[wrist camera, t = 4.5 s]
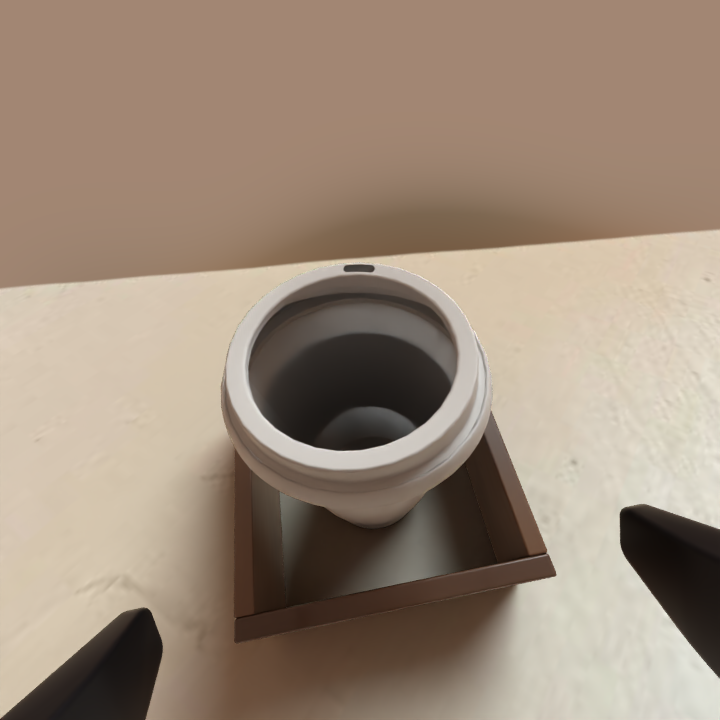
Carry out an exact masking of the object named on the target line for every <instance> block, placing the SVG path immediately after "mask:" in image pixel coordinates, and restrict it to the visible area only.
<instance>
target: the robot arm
mask: <svg viewBox="0 0 720 720" xmlns="http://www.w3.org/2000/svg"><path fill="white" fill-rule="evenodd" d="M620 544H621V548H622V551H623V554H624V555H625V557H626V559H627V560H628V562H629V563H630V564H631V566H632V567H633V568H634V570H635V571H636V572H637V574H638V575H639V576H640V578H641V579H642V581H643V582H644V583H645V585H646V586H647V587H648V589H649V590H650V591H651V593H652V594H653V595H654V597H655V598H656V599H657V601H658V602H659V603H660V605H661V606H662V608H663V609H664V610H665V612H666V613H667V614H668V616H669V617H670V618H671V620H672V621H673V622H674V624H675V625H676V626H677V628H678V629H679V630H680V632H681V633H682V634H683V635H684V637H685V638H686V639H687V641H688V642H689V643H690V644H691V646H692V647H693V648H694V649H695V650H696V652H697V653H698V654H699V655H700V656H701V658H702V659H703V660H704V661H705V662H706V663H707V665H708V666H709V667H710V668H711V669H712V670H713V671H714V673H715V674H716V675H717V676H718V677H719V678H720V529H717V528H714V527H711V526H708V525H705V524H702V523H699V522H696V521H693V520H691V519H688V518H685V517H682V516H679V515H676V514H673V513H670V512H667V511H664V510H661V509H658V508H655V507H652V506H649V505H646V504H639V505H634V506H629V507H625V508H623V509H622V510H621V512H620ZM162 652H163V645H162V640H161V637H160V634H159V632H158V629H157V626H156V624H155V621H154V618H153V616H152V613H151V611H150V610H149V609H148V608H139V609H134V610H129V611H126V612H123V613H121V614H120V615H119V616H118V617H117V618H115V619H114V620H113V621H112V622H111V623H110V624H109V625H107V626H106V627H105V628H104V629H103V630H102V631H101V632H99V633H98V634H97V635H96V636H95V637H94V638H93V639H91V640H90V641H89V642H88V643H87V644H86V645H84V646H83V647H82V648H81V649H80V650H79V651H78V652H76V653H75V654H74V655H73V656H72V657H71V658H70V659H68V660H67V661H66V662H65V663H64V664H63V665H62V666H60V667H59V668H58V669H57V670H56V671H55V672H53V673H52V674H51V675H50V676H49V677H48V678H47V679H45V680H44V681H43V682H42V683H41V684H40V685H39V686H37V687H36V688H35V689H34V690H33V691H32V692H31V693H29V694H28V695H27V696H26V697H25V698H24V699H22V700H21V701H20V702H19V703H18V704H17V705H16V706H14V707H13V708H12V709H11V710H10V711H9V712H8V713H6V714H5V715H4V716H3V717H2V718H1V719H0V720H145V719H146V715H147V711H148V708H149V704H150V700H151V696H152V693H153V689H154V685H155V681H156V677H157V674H158V670H159V666H160V662H161V658H162Z"/></svg>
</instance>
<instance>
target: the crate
mask: <svg viewBox="0 0 720 720" xmlns="http://www.w3.org/2000/svg"><path fill="white" fill-rule="evenodd" d="M465 465H466V468H467V471H468V474H469V477H470V480H471V484H472V487H473V490H474V493H475V496H476V499H477V502H478V505H479V508H480V511H481V514H482V517H483V520H484V523H485V526H486V529H487V532H488V535H489V538H490V541H491V544H492V547H493V550H494V553H495V556H496V559H497V562H498V564H493V565H488V566H483V567H478V568H474V569H469V570H464V571H459V572H455V573H450V574H445V575H440V576H435V577H431V578H426V579H421V580H416V581H412V582H407V583H402V584H397V585H392V586H388V587H383V588H378V589H373V590H369V591H364V592H359V593H354V594H349V595H345V596H340V597H335V598H330V599H326V600H321V601H316V602H311V603H306V604H302V605H297V606H292V607H287V608H286V596H285V579H284V562H283V545H282V527H281V510H280V493H279V490H277V489H275V488H274V487H272V486H271V485H269V484H268V483H266V482H265V481H264V480H262V479H261V478H260V477H259V476H258V475H257V474H255V473H254V472H253V471H252V470H251V469H250V468H249V466H248V465H247V464H246V463H245V462H244V460H243V459H242V458H241V456H240V455H239V454H238V452H237V450H236V449H235V551H234V617H235V618H236V619H235V622H234V641H235V643H236V644H238V643H243V642H247V641H252V640H257V639H262V638H266V637H271V636H276V635H280V634H285V633H290V632H295V631H299V630H304V629H309V628H314V627H318V626H323V625H328V624H333V623H337V622H342V621H347V620H351V619H356V618H361V617H366V616H370V615H375V614H380V613H385V612H389V611H394V610H399V609H403V608H408V607H413V606H418V605H422V604H427V603H432V602H437V601H441V600H446V599H451V598H456V597H460V596H465V595H470V594H474V593H479V592H484V591H489V590H493V589H498V588H503V587H508V586H512V585H517V584H522V583H526V582H531V581H536V580H541V579H545V578H550V577H555V576H556V571H555V569H554V566H553V564H552V561H551V559H550V556H549V555H548V554H546V553H547V549H546V546H545V544H544V541H543V539H542V536H541V534H540V531H539V529H538V526H537V524H536V521H535V519H534V516H533V514H532V511H531V509H530V506H529V504H528V501H527V499H526V496H525V494H524V491H523V489H522V486H521V484H520V481H519V479H518V476H517V474H516V471H515V469H514V466H513V464H512V461H511V459H510V456H509V454H508V451H507V449H506V446H505V444H504V441H503V439H502V436H501V434H500V431H499V429H498V426H497V424H496V421H495V419H494V416H493V414H492V411H491V412H490V416H489V420H488V423H487V426H486V429H485V431H484V433H483V435H482V437H481V439H480V441H479V443H478V445H477V446H476V448H475V449H474V451H473V452H472V454H471V455H470V456H469V458H468V459H467V460H466V461H465Z"/></svg>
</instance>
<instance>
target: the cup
mask: <svg viewBox="0 0 720 720" xmlns="http://www.w3.org/2000/svg"><path fill="white" fill-rule="evenodd" d="M492 394H493V393H492V375H491V371H490V367H489V363H488V358H487V355H486V352H485V350H484V348H483V346H482V344H481V342H480V340H479V338H478V336H477V335H476V333H475V332H474V330H473V329H472V327H471V325H470V323H469V321H468V319H467V317H466V316H465V314H464V313H463V311H462V310H461V309H460V307H459V306H458V305H457V304H456V302H455V301H454V300H453V299H452V298H451V297H449V296H448V295H447V294H446V293H445V292H444V291H443V290H441V289H440V288H439V287H438V286H436V285H435V284H433V283H431V282H430V281H428V280H426V279H424V278H423V277H421V276H419V275H416V274H414V273H411V272H409V271H406V270H403V269H401V268H396V267H392V266H387V265H383V264H374V263H360V262H359V263H343V264H335V265H330V266H325V267H320V268H317V269H314V270H311V271H308V272H305V273H302V274H299V275H297V276H295V277H293V278H291V279H289V280H287V281H285V282H283V283H281V284H280V285H278V286H277V287H276V288H274V289H273V290H272V291H270V292H269V293H267V294H266V295H265V296H263V297H262V298H261V299H260V300H259V301H258V302H257V303H256V304H255V305H254V306H253V307H252V308H251V309H250V310H249V311H248V313H247V314H246V316H245V317H244V319H243V320H242V321H241V323H240V324H239V326H238V327H237V329H236V331H235V334H234V336H233V338H232V340H231V343H230V345H229V349H228V353H227V358H226V364H225V369H224V373H223V378H222V383H221V408H222V413H223V418H224V422H225V425H226V428H227V431H228V434H229V437H230V439H231V441H232V443H233V445H234V447H235V449H236V450H237V452H238V454H239V455H240V456H241V458H242V459H243V460H244V462H245V463H246V464H247V465H248V466H249V468H250V469H251V470H252V471H253V472H254V473H255V474H257V475H258V476H259V477H260V478H261V479H262V480H264V481H265V482H266V483H268V484H269V485H271V486H272V487H274V488H275V489H277V490H279V491H280V492H282V493H284V494H286V495H288V496H291V497H293V498H295V499H298V500H301V501H304V502H307V503H310V504H313V505H318V506H323V507H325V508H326V509H328V510H329V511H330V512H332V513H333V514H335V515H336V516H337V517H340V518H342V519H344V520H347V521H349V522H350V523H352V524H354V525H356V526H359V527H363V528H369V529H377V528H383V527H387V526H389V525H392V524H394V523H396V522H397V521H399V520H400V519H401V518H403V517H404V516H405V515H406V514H407V513H408V511H409V510H411V509H412V508H413V507H414V506H415V505H416V504H417V503H418V502H419V501H420V499H421V498H422V497H423V496H424V494H425V493H426V492H427V491H428V490H430V489H432V488H433V487H435V486H437V485H438V484H440V483H441V482H443V481H444V480H445V479H447V478H448V477H449V476H451V475H452V474H453V473H454V472H455V471H456V470H457V469H458V468H459V467H460V466H461V465H462V464H463V463H464V462H465V461H466V460H467V459H468V458H469V456H470V455H471V454H472V452H473V451H474V449H475V448H476V446H477V445H478V443H479V441H480V439H481V437H482V435H483V433H484V431H485V429H486V426H487V423H488V420H489V416H490V412H491V406H492Z"/></svg>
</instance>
